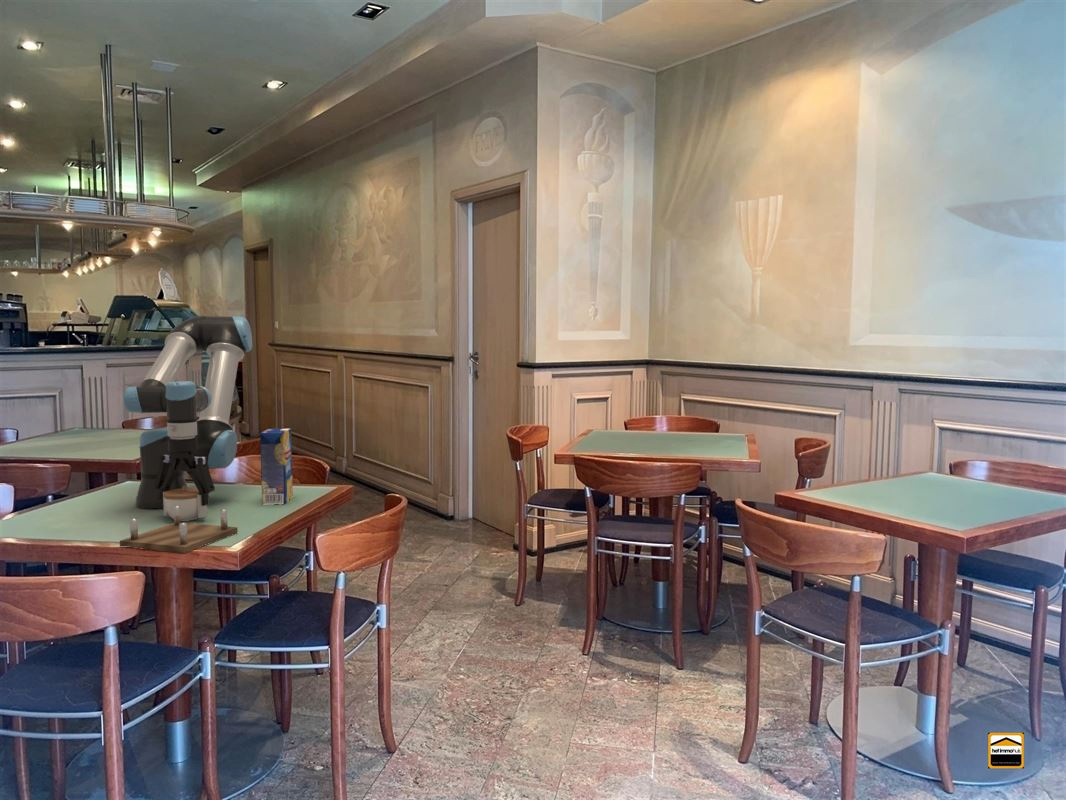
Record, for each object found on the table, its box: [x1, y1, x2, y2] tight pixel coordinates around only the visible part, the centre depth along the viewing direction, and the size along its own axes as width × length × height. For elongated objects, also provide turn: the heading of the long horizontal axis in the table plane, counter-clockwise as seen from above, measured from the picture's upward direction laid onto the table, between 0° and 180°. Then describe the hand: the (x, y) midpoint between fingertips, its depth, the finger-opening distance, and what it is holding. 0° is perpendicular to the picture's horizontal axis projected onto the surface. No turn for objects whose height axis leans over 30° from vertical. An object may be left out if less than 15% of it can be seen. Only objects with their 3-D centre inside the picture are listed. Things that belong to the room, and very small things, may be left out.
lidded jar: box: [163, 485, 204, 522], centre depth 209 cm, size 11×11×9 cm
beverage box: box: [259, 428, 294, 506], centre depth 232 cm, size 7×11×22 cm, turn 6°
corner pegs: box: [129, 505, 229, 545], centre depth 188 cm, size 16×16×5 cm
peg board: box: [119, 522, 239, 554], centre depth 189 cm, size 19×19×2 cm
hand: (185, 515), depth 210 cm, fingers closed on lidded jar, 11 cm apart
